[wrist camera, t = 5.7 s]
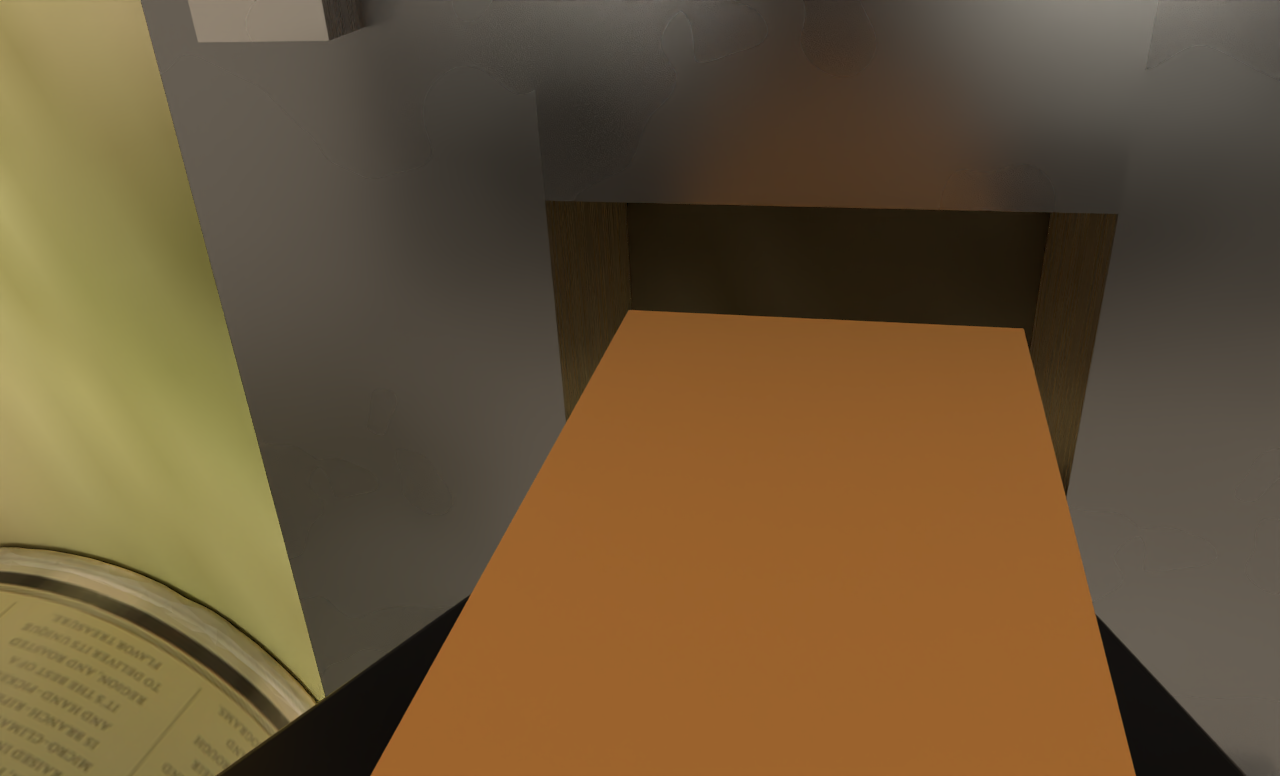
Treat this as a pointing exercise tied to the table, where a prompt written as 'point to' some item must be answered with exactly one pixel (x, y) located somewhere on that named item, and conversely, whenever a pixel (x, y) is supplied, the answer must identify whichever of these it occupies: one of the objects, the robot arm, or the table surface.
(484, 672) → the tall orange box
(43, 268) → the table surface
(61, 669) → the coffee can
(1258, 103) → the rosette plate
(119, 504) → the table surface
